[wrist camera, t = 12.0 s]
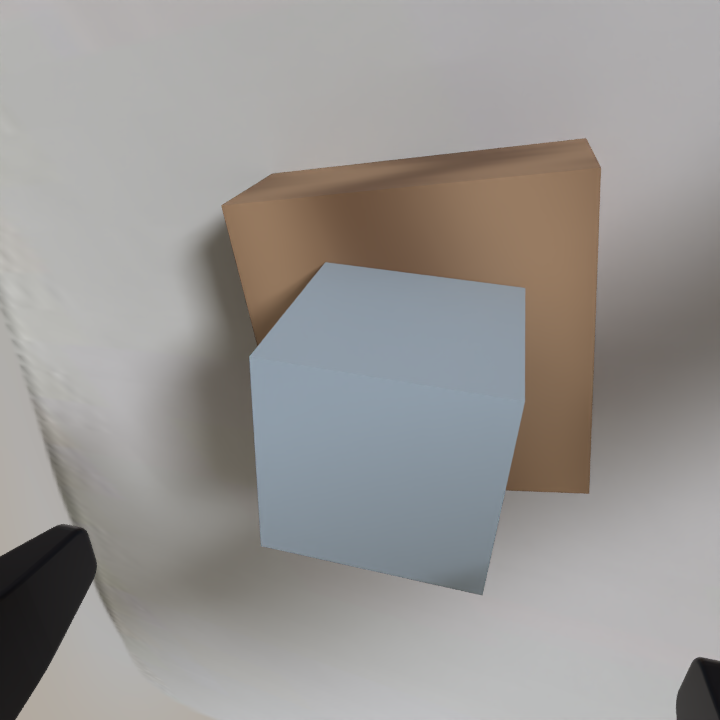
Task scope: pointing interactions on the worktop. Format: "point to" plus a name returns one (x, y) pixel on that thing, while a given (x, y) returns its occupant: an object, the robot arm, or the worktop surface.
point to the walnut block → (454, 263)
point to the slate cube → (390, 422)
